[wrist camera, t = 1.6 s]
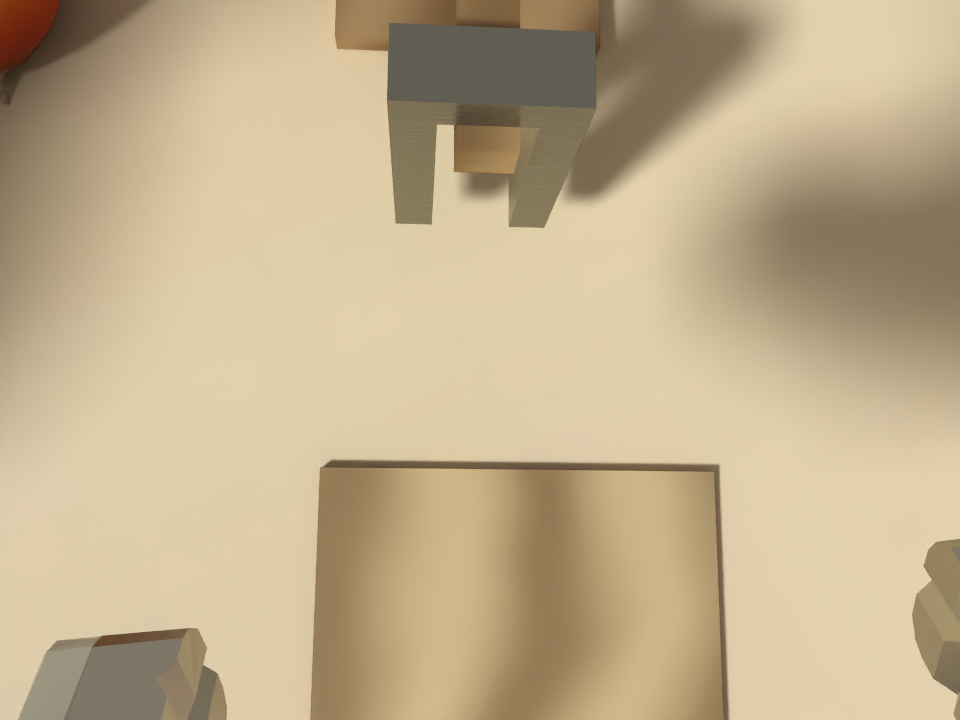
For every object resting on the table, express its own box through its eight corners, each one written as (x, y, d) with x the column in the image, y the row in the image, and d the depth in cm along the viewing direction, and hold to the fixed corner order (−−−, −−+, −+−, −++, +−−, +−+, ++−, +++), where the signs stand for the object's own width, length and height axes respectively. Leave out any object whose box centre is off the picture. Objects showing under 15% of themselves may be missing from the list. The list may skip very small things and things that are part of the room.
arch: (395, 223, 30) (387, 100, 21) (397, 166, 30) (389, 22, 22) (544, 227, 30) (596, 108, 22) (543, 171, 31) (595, 31, 22)
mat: (304, 900, 29) (303, 906, 29) (321, 468, 32) (320, 467, 31) (726, 891, 30) (730, 896, 30) (710, 472, 33) (713, 471, 32)
